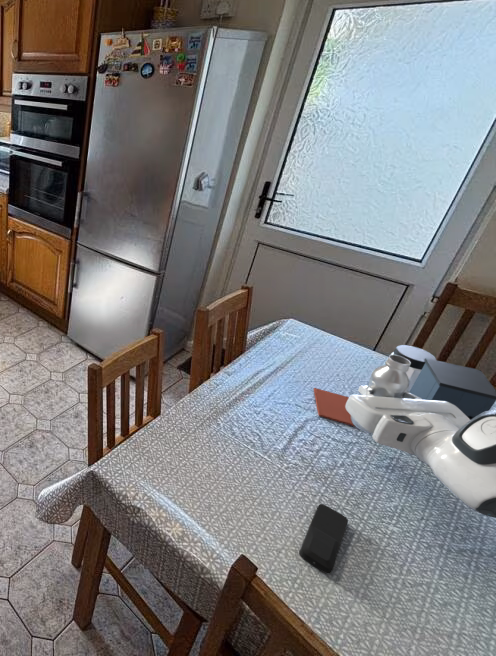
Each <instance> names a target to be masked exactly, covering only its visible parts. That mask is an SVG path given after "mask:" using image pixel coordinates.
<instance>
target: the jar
mask: <svg viewBox="0 0 496 656" xmlns="http://www.w3.org/2000/svg"><path fill="white" fill-rule="evenodd" d="M390 355H398V356H402V357H404V358H406V359H408V360H409V361H410V362H411V364H410V366H409V370H408V371H407V372H406V374H407V376H408V379H409V387H408V389H407V390H406V391H407V392H410V390H411V388H412V386H413V384H414V383H415V381H416V379H417V377H418V375H419V374H420V372H421V370H422V368H423V366H424V364H425V361H424V360H425V358H428V359H433V360H437V358H436V356H435V355H433V354H432V353H431V352H429V351H427V350H425V349H422V348H419V347H417V346H412V345H408V344H401V345H397V346H396V347H395V349H394V350H393V352H391V354H390Z"/></svg>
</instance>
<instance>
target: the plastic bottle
mask: <svg viewBox="0 0 496 656" xmlns="http://www.w3.org/2000/svg"><path fill="white" fill-rule="evenodd" d="M410 364H411V362H410V361H409V360H408V359H406V358H404V357H402V356H398V355H391V354H389V356H388V357H387V359H386V360H385V362H384V364H382V365H380V366H378V367H376V368H374V369H373V370H372V371H371V373H370V377H369V380H368V384H367V386H369V388H371V389H372V390H373V391H372V393H371V394H372V395H374V396H379V397H392V398H400V397H401V396H402V395H403V393H404V392H405V391H406V390H407V389H408V387H409V379H408V376H407V374H406V372H407V371H408V370H409V366H410ZM351 421H352V423H353V424H354V425H355V426H356V427H355V428H357V429H358V430H360V431H362V432H363V433H367V434H371V435H373V433H371V432H369V431H367V430H366V429H364V428H363V427H362V426H361V425H360V424H359V423H358V422H357V421H356V420H355V419H354V418H353V417H352V416H351Z"/></svg>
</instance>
